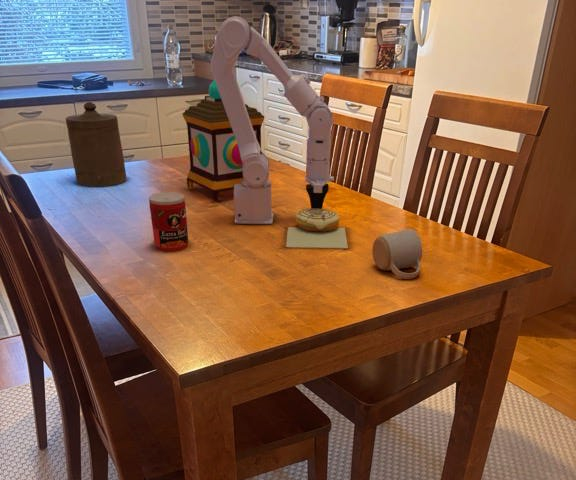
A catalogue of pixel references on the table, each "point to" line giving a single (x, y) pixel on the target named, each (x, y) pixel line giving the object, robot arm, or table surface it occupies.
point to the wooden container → (96, 148)
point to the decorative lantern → (215, 144)
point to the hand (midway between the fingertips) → (316, 214)
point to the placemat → (316, 238)
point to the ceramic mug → (398, 252)
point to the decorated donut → (317, 219)
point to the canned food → (169, 221)
